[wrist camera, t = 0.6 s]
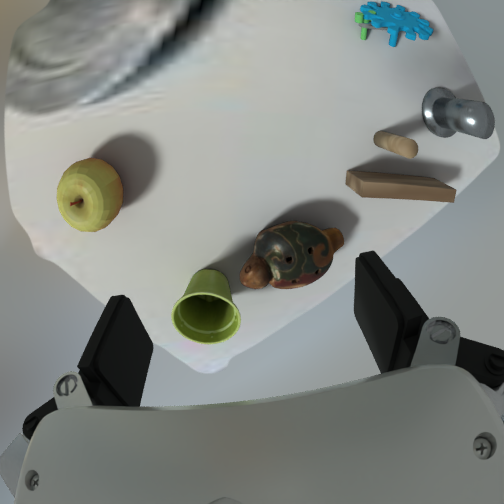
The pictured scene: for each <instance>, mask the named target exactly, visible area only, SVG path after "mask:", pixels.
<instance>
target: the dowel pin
mask: <svg viewBox="0 0 504 504" xmlns="http://www.w3.org/2000/svg"><path fill="white" fill-rule="evenodd" d="M374 143H375V145H376V146H378V147H380V148H383V149H386V150H388V151H391V152H394V153H396V154H399V155H401V156H404V157H406V158H409V159H411V158H414V157H415V156H416V155H417V153H418V145H417V143H416V142H415V141H414V140H413V139H409V138H406V137H402V136H399V135H395V134H391V133H387V132H383V131H378V132H377V133H375V135H374Z"/></svg>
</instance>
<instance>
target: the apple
mask: <svg viewBox="0 0 504 504" xmlns="http://www.w3.org/2000/svg"><path fill="white" fill-rule="evenodd" d="M57 203H58V207H59V211H60V213H61V215H62V216H63V218H64V220H65V221H66V222H67V223H68V224H69V225H70V226H71V227H73V228H75V229H77V230H79V231H85V232H96V231H98V230H101V229H103V228H105V227H106V226H108V225H109V224H110V223H111V221H112V220H113V219H114V218H115V217H116V216H117V215H118V213H119V211H120V208H121V205H122V203H123V187H122V183H121V180H120V177H119V175H118V174H117V172H116V171H115V169H114V168H113V167H112V166H111V165H109V164H108V163H106V162H105V161H103V160H101V159H95V158H88V159H85V160H81V161H78V162H76V163H74V164H72V165H71V166H70V167H69V168H68V169H67V170H66V171H65V172H64V173H63V176H62V178H61V180H60V182H59V185H58V188H57Z"/></svg>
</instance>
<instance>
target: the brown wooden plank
mask: <svg viewBox="0 0 504 504" xmlns="http://www.w3.org/2000/svg"><path fill="white" fill-rule="evenodd" d="M346 185H347V186H349V187H350V188H351V189H352V190H354V191H355V192H356V193H357V194H358V195H360V196H361V197H368V198H392V199H410V200H426V201H440V202H454V199H455V194H456V189H454V188H452V187H450V186H448V185H446V184H445V183H443V182H441V181H439V180H437V179H435V178H428V177H420V176H410V175H400V174H389V173H377V172H363V171H347V174H346Z"/></svg>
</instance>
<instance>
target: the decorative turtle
mask: <svg viewBox="0 0 504 504" xmlns="http://www.w3.org/2000/svg"><path fill="white" fill-rule="evenodd" d="M343 245H344V238H343V235H342V233H341V232H340V231H339V230H338V229H337V228H328V229H325V230H322V231H321V230H320V229H319V228H317V227H315V226H313V225H311V224H308V223H304V222H297V221H289V222H288V221H287V222H284V223H281V224H279V225H276V226H273V227H270V228H268V229H266V230H262V231H261V232H259V234H258V235H257V238H256V241H255V246H254V252H253V254H252V255H251V257H250V258H249V259H248V260H247V262H246V263H245V264H244V266H243V268H242V270H241V271H240V281H241V283H242V284H243V285H244V286H246V287H249V288H253V289H261V288H263V287H265V286H267V285H268V283H270V284H271V285H272V286H273V287H275V288H279V289H293V288H299V287H303V286H306V285H308V284H311V283H313V282H314V281H316V280H318V279H319V278H321V277H322V276H323V275H324V274H325V273H326V272H327V271H328V269H329V268H330V266H331V264H332V261H333V254H334V253H335V252H336V251H337V250H338V249H339V248H341V247H342V246H343Z"/></svg>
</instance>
